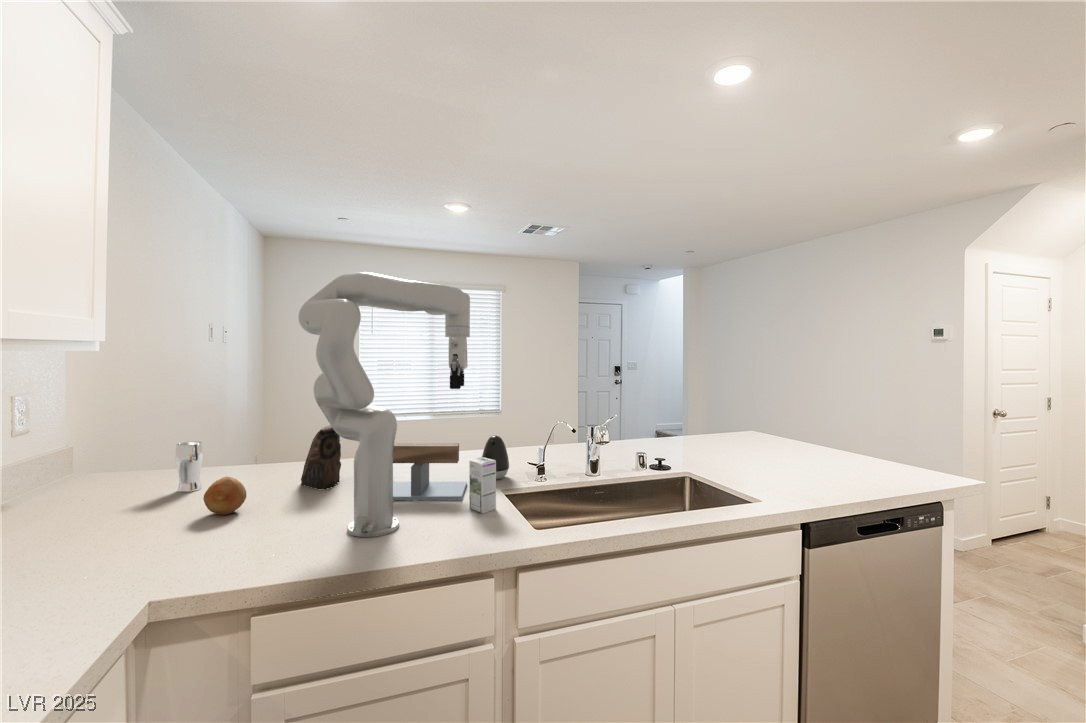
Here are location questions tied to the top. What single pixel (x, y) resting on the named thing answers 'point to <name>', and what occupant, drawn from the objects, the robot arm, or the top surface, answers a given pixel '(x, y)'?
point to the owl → (323, 460)
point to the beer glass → (189, 465)
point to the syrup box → (482, 484)
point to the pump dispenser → (497, 455)
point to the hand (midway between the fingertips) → (457, 387)
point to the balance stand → (427, 487)
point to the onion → (225, 496)
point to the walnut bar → (426, 453)
